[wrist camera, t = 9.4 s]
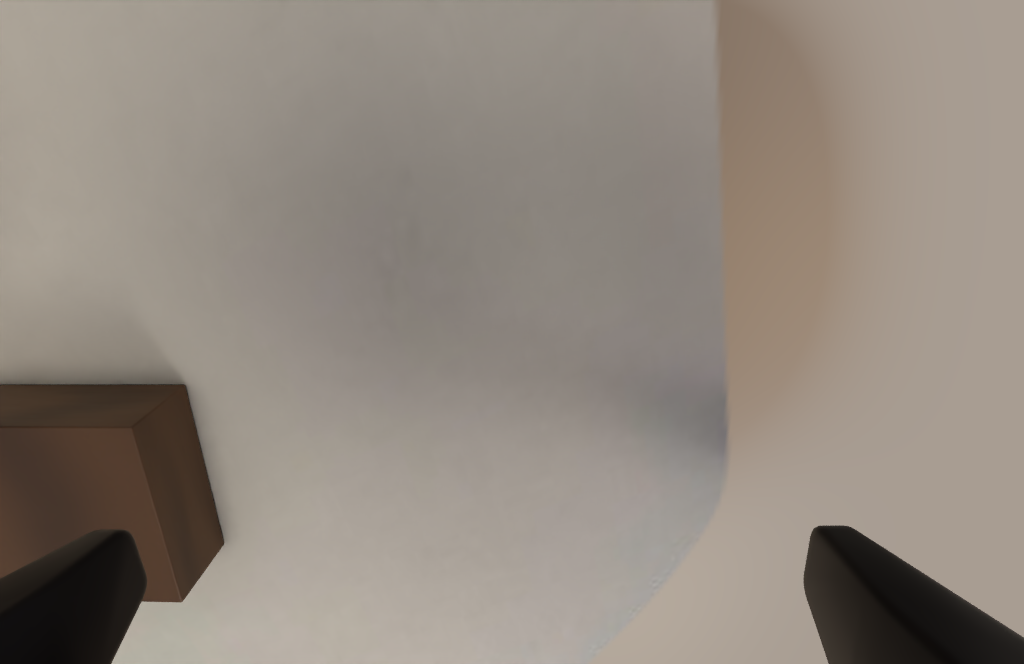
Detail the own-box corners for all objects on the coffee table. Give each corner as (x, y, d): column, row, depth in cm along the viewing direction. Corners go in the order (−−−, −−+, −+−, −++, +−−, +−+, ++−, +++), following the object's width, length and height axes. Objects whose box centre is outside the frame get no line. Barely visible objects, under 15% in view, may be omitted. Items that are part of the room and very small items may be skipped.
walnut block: (185, 384, 21) (131, 427, 19) (225, 543, 24) (182, 603, 21) (-3, 384, 22) (-84, 426, 19) (55, 541, 24) (-8, 599, 22)
